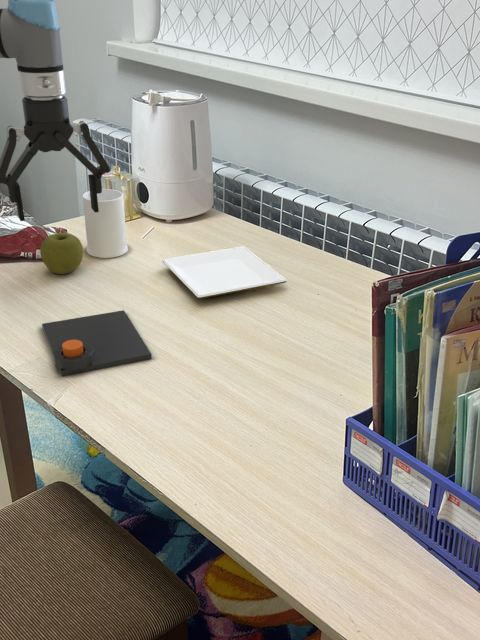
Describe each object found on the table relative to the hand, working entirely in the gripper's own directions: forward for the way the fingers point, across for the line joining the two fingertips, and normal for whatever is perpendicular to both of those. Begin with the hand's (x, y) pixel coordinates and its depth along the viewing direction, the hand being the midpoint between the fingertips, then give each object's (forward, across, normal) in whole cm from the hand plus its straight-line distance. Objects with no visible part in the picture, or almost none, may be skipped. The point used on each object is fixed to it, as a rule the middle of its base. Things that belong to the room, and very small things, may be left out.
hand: (59, 214), depth 130 cm
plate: (+12, +28, -14) cm, 33 cm away
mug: (+12, +11, +9) cm, 18 cm away
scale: (+12, -1, -30) cm, 32 cm away
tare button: (+10, -6, -35) cm, 37 cm away
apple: (+12, 0, 0) cm, 12 cm away
